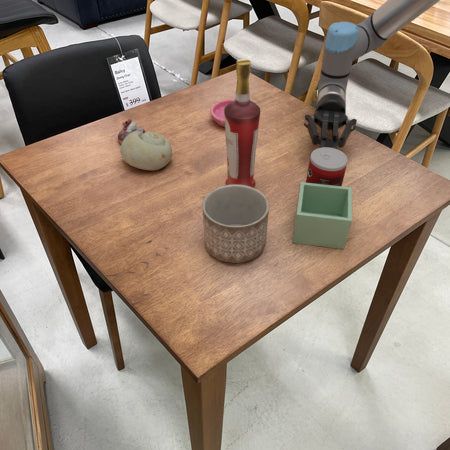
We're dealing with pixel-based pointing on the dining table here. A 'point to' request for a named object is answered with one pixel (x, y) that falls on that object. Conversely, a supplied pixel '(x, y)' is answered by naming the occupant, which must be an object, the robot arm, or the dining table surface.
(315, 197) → the box
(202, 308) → the dining table surface
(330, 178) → the canned food
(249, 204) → the planter
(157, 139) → the seashell
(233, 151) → the liquor
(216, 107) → the saucer
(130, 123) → the pinkish grey lump
